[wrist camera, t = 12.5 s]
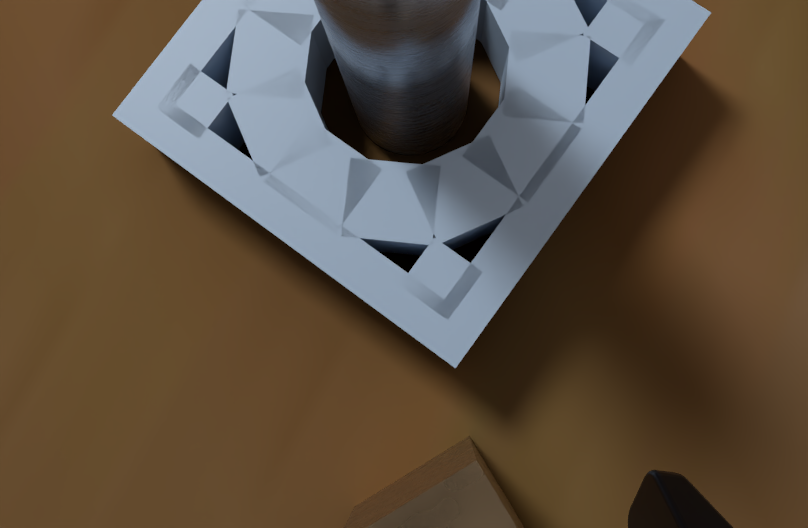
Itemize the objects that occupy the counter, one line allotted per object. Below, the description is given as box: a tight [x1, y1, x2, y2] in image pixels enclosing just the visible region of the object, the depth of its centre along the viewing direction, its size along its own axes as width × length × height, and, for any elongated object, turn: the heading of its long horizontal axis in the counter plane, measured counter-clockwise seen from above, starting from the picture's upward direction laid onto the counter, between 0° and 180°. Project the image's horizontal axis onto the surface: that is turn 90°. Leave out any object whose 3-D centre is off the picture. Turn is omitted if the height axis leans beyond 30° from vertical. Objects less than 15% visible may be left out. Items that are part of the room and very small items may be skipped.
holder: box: [113, 0, 711, 368], centre depth 19 cm, size 12×12×2 cm
